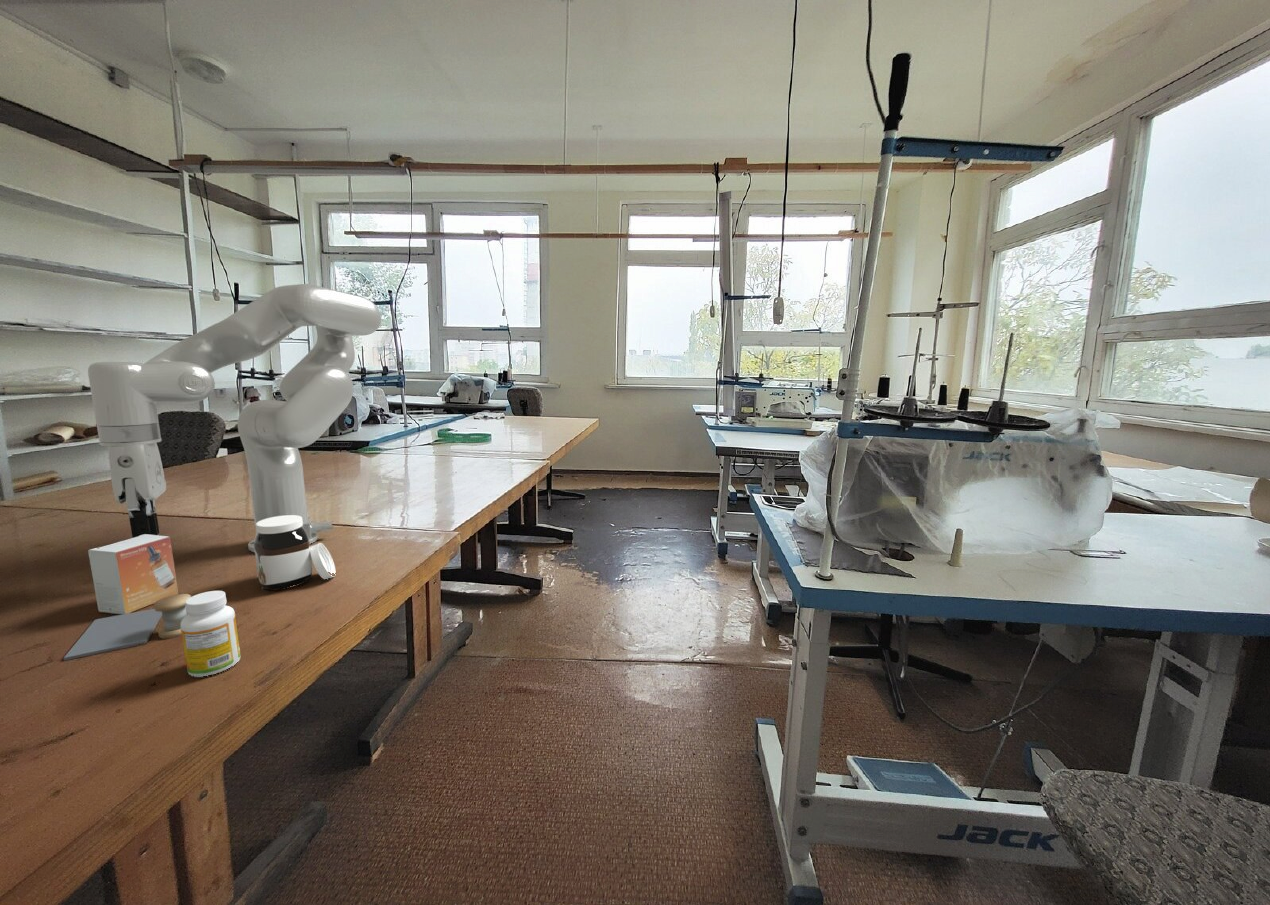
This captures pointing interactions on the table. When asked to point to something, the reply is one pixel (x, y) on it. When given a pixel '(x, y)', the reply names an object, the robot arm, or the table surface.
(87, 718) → the table surface
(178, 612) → the thread spool
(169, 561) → the small box
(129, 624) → the felt mat
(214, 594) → the supplement bottle
